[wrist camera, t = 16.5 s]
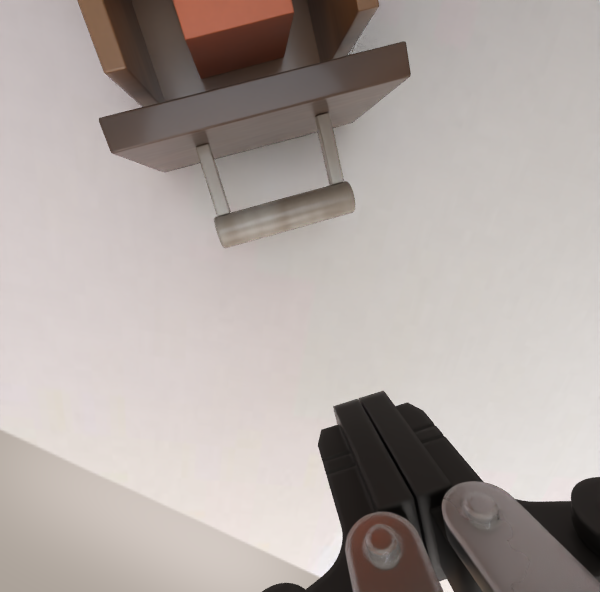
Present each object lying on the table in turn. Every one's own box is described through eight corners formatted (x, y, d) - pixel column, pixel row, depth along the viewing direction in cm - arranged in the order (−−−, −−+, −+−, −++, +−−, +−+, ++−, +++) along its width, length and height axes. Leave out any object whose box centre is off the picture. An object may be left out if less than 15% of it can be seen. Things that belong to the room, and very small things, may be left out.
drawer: (369, 200, 22) (430, 197, 14) (190, 249, 21) (157, 274, 14) (294, -176, 17) (328, -478, 9) (57, -127, 16) (-109, -411, 9)
